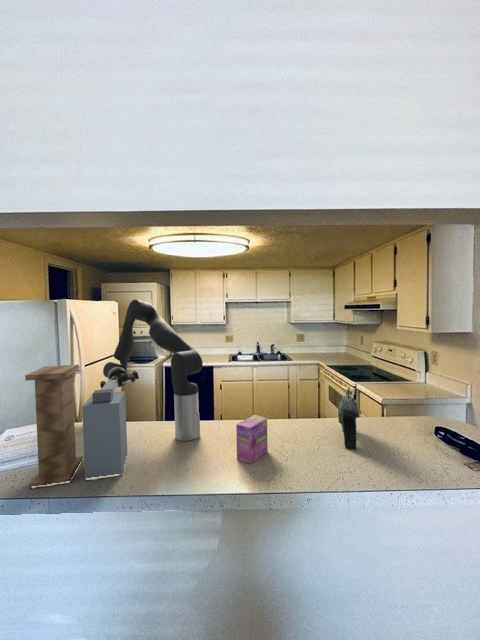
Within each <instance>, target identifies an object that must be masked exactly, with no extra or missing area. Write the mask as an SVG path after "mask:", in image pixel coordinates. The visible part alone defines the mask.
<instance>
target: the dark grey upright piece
mask: <svg viewBox="0 0 480 640" xmlns="http://www.w3.org/2000/svg"><path fill="white" fill-rule="evenodd" d="M337 412H338V413H337V415H338V416H337V417H338V422H339V424H340V425H341V429H342V432H343V442H344V448H345V449H346V450H357V418H359V408H358V402H357V399H355V395H353V396H350V386H348V387H347V392H346V395H342V396H341V400H340V401H338V410H337Z"/></svg>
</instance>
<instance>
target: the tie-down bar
mask: <svg viewBox="0 0 480 640" xmlns="http://www.w3.org/2000/svg"><path fill="white" fill-rule="evenodd" d="M106 382H107V383H106V384H105V385H104V386H103V388H102V389H96V390H94V391H93V392H92V395H93V404H95V403H106V402H111V401H112V400H113V393H114V392H116V390H117V389H118V388H119V387H118V379H117V380H109V379H107V381H106Z"/></svg>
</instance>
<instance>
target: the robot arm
mask: <svg viewBox="0 0 480 640" xmlns="http://www.w3.org/2000/svg"><path fill="white" fill-rule="evenodd" d="M136 320H137V321H141V322H143V323H146V324H147V325H148V326H149V336H150V338H151V340H153V341H154V343H155V344H156V345H157V346H158V347H160V348H161V349H163V350H165V351H167V352H170V353H172V355H171V360H170V370H171V371H170V374H171V385H172V387H173V401H174V403H173V404H174V429H175V430H174V436H175V437H174V438H175V439H176V441H179V440H180V441H179V442H190V440H191V441H195V440H196V439H200V438H201V421H200V412H199V407H200V406H199V403H200V402H199V385H198V384H197V383H194V382H189V381H188V376H189V375H190V376H191V375H195V374H197V373H200V372H201V370H202V369H203V363H204V362H203V359H202V356H201V355H200V354H199V352H198V351H197V350H196V349H195V348H193V347H192V346H191V345H190V344H188V343H187V342H186V341H185V340H184V339H182V337H181V336H179V334H178V333H177V332H176V331H175V330H174V329H173V327H171V326H170V325H169V324H168V322H166V321H165V319H164V318H163V317H162V316H161V315H160V314H159V312H158V310H157V309H156V308H155V307H154V305H152V303H150V302H147V301H144V300H140V299H137V298H135V299H132V300H131V302H130V303H129V305H128V307H127V309H126V313H125V317H124V321H123V325H122V329H121V333H120V334H121V335H120V337H119V341H118V343H117V346H116V348H115V351H114V353H113V358H114V359H115V360H116V361H118V362H121V363H116V362H113V361H109V362H107V363H106V364H105V365H104V366H103V368H102V373H103V376H104V377H105V378H107V380H117V379H118V387H117V388H121V387H124V386H125V385H126V384H127V383H130V382H131V383H132V384H133V383H135V381H136V380H139V379H140V377H139V373H138V371H136V370H133V371H132V372H131V374H130V373H128V363H129V359H130V357H131V354H132V352H133V349H134V346H135V339H134V331H133V329H134V328H133V326H134V323H135V322H136ZM107 382H108V381H105V380H101V381H100V384H99V387H100V388H101V389H102V388H103V386H104V385H105V384H106V383H107ZM101 389H100V390H101Z"/></svg>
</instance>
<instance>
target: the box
mask: <svg viewBox="0 0 480 640" xmlns="http://www.w3.org/2000/svg"><path fill="white" fill-rule="evenodd" d="M235 427H236V428H235V429H236V432H235V433H236V459H237V460H239V461H240V460H241V461H240V462H243V461H244V462H243V463H246V464H248V465H251V464H253V462H255V461H256V460H258V459H259V458H261V457H262V456H263V455H265V454H266V453H267V452H268V418H267V417H264V416H260V415H257V414H253V415H252V416H249V417H247V418H246V419H244V420H242V421H240V422H237V423H236V426H235Z"/></svg>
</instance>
